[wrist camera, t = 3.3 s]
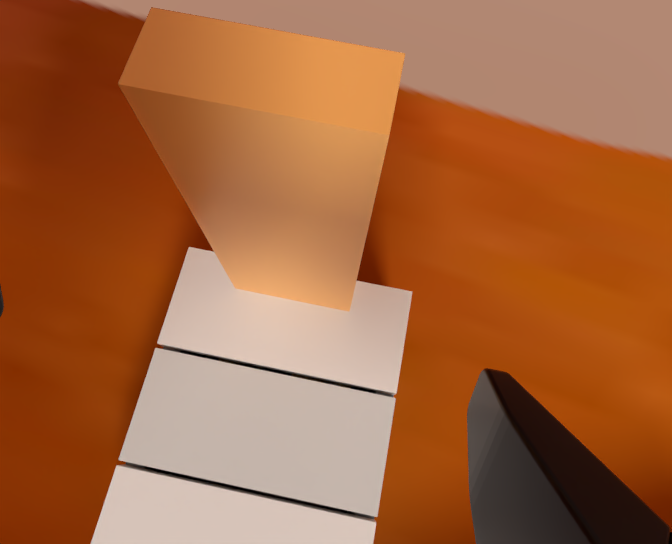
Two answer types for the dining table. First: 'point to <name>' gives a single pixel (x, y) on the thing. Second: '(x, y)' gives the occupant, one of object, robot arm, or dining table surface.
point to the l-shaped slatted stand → (263, 290)
